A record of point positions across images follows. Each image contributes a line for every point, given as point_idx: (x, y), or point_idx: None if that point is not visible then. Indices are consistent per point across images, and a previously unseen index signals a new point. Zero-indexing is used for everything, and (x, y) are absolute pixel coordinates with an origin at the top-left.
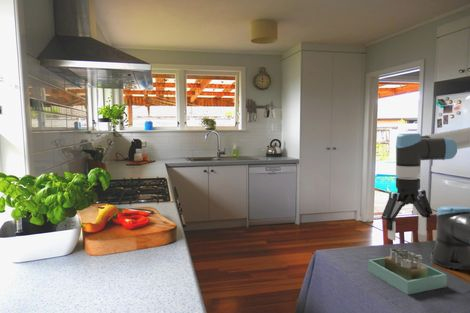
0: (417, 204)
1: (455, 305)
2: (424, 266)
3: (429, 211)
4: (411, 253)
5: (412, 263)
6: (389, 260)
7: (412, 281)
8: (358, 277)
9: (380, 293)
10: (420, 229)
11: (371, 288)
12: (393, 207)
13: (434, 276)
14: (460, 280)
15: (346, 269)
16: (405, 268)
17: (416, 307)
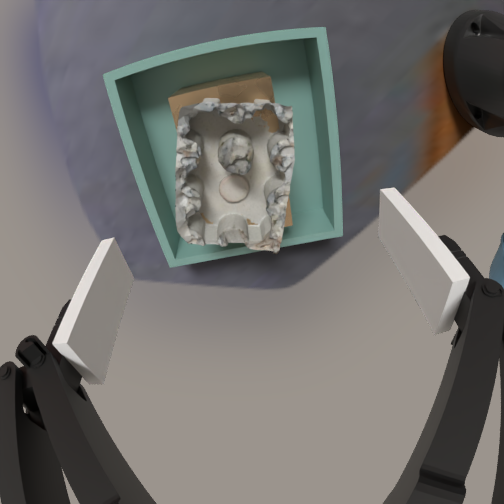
0: (392, 491)
1: (277, 280)
2: (288, 215)
3: (502, 355)
4: (285, 160)
5: (235, 220)
6: (177, 126)
7: (189, 263)
8: (75, 110)
9: (108, 215)
10: (393, 226)
11: (92, 186)
12: (63, 494)
13: (289, 243)
14: (413, 172)
15: (58, 46)
16: (201, 213)
17: (174, 279)
